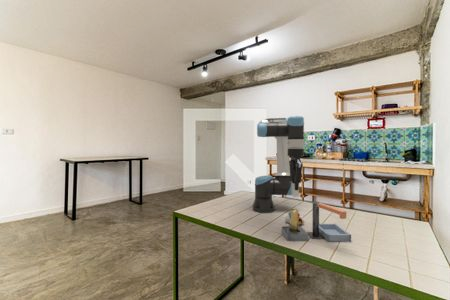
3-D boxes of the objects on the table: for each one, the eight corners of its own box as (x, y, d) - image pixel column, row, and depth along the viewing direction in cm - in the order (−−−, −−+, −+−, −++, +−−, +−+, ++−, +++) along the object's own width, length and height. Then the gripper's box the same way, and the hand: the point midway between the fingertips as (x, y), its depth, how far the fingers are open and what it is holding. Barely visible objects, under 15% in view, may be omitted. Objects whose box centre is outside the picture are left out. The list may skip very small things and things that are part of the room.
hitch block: (281, 232, 111) (281, 226, 111) (301, 232, 111) (301, 226, 110) (287, 240, 101) (287, 234, 101) (308, 240, 101) (308, 234, 100)
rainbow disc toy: (292, 227, 117) (292, 214, 116) (283, 221, 126) (283, 209, 126) (306, 226, 119) (306, 213, 119) (295, 220, 128) (295, 208, 128)
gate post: (307, 233, 109) (307, 203, 108) (319, 233, 108) (319, 203, 108) (312, 238, 103) (312, 207, 102) (324, 238, 102) (324, 207, 102)
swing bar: (341, 219, 90) (341, 212, 90) (311, 207, 106) (311, 201, 106) (346, 218, 91) (346, 211, 91) (315, 206, 107) (316, 201, 107)
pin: (289, 234, 107) (289, 209, 107) (296, 234, 107) (297, 209, 107) (291, 237, 104) (292, 211, 103) (299, 237, 104) (299, 211, 103)
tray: (315, 229, 113) (315, 223, 113) (335, 229, 113) (335, 223, 113) (327, 241, 99) (327, 234, 99) (351, 241, 99) (351, 234, 99)
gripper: (283, 147, 111) (283, 192, 112) (292, 148, 97) (292, 199, 98) (298, 147, 111) (297, 192, 112) (308, 148, 97) (308, 199, 98)
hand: (295, 195), depth 105 cm, fingers closed
